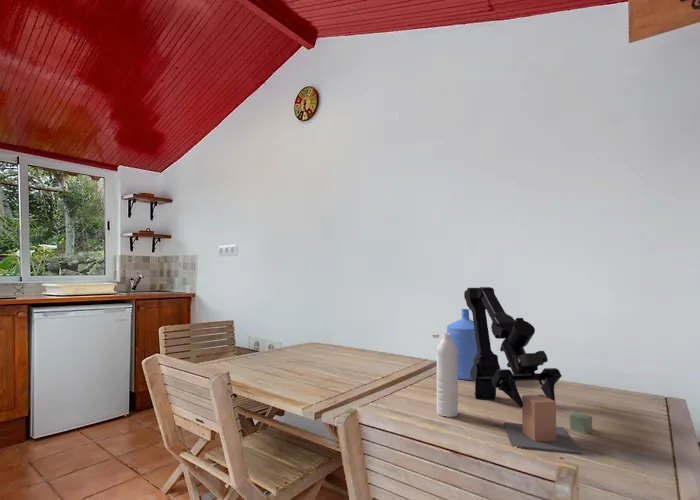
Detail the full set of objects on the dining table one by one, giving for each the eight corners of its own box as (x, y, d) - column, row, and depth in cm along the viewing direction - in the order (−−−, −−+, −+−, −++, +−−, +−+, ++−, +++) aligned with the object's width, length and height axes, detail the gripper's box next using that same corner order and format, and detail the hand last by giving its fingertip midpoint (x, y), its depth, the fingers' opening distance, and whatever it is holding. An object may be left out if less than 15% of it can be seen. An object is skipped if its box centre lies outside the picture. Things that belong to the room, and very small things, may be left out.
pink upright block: (522, 432, 113) (522, 395, 113) (542, 431, 113) (542, 394, 114) (534, 441, 107) (534, 402, 107) (556, 440, 107) (555, 401, 108)
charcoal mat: (512, 447, 104) (512, 445, 104) (503, 424, 120) (503, 422, 120) (581, 454, 100) (581, 452, 101) (562, 429, 116) (562, 427, 116)
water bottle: (450, 409, 132) (450, 331, 133) (462, 416, 126) (461, 334, 127) (426, 412, 129) (426, 332, 130) (437, 419, 123) (437, 336, 124)
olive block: (570, 429, 117) (570, 414, 117) (577, 426, 119) (577, 412, 119) (584, 433, 113) (584, 419, 113) (592, 430, 115) (591, 416, 115)
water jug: (479, 382, 162) (479, 312, 163) (441, 377, 171) (441, 309, 172) (489, 374, 176) (488, 308, 177) (453, 369, 184) (453, 306, 185)
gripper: (495, 341, 115) (516, 392, 104) (557, 340, 118) (584, 390, 106) (483, 362, 123) (501, 412, 112) (541, 361, 125) (565, 410, 114)
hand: (538, 406), depth 111 cm, fingers open, 9 cm apart
